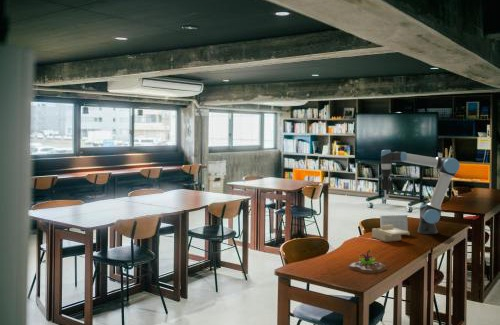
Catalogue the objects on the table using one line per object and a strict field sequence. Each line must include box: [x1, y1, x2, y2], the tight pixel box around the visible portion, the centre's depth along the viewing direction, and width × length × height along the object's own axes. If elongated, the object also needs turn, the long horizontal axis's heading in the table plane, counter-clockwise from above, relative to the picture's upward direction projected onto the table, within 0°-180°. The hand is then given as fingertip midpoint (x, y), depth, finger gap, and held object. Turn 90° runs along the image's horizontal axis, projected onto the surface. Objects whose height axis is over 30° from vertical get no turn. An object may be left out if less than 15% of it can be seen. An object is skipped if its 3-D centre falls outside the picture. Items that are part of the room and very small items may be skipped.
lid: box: [378, 225, 410, 237], centre depth 347 cm, size 16×18×5 cm
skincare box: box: [379, 214, 409, 236], centre depth 373 cm, size 21×6×16 cm, turn 84°
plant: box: [348, 249, 387, 274], centre depth 275 cm, size 20×20×11 cm
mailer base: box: [371, 227, 402, 243], centre depth 356 cm, size 14×18×7 cm
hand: (386, 198), depth 368 cm, fingers closed
